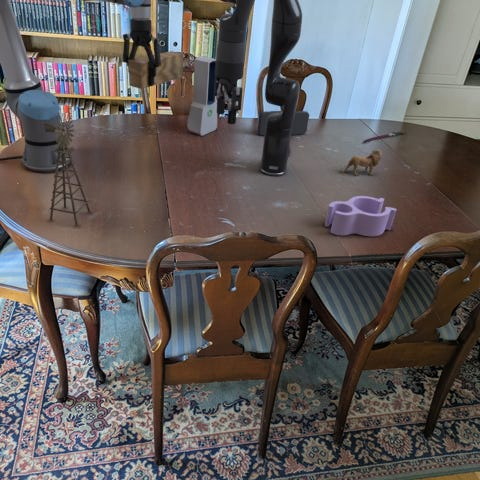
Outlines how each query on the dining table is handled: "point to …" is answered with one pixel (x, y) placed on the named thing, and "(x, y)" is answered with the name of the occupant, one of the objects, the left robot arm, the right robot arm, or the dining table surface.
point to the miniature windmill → (60, 149)
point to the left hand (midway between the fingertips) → (142, 83)
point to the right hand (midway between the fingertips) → (225, 118)
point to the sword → (382, 136)
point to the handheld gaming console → (297, 127)
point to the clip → (359, 216)
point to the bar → (164, 73)
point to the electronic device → (203, 97)
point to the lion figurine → (365, 162)
